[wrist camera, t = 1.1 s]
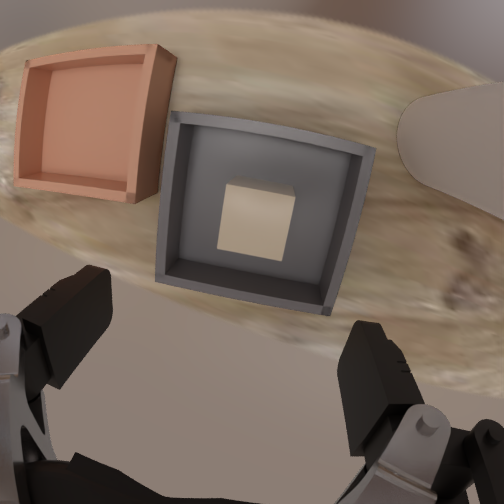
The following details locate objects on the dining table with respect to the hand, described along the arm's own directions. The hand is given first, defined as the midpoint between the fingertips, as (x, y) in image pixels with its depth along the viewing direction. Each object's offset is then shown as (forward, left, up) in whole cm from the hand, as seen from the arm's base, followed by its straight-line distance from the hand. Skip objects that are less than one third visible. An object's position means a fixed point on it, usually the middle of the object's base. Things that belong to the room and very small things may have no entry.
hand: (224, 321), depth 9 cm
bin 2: (0, 0, -17) cm, 17 cm away
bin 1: (+16, -5, -17) cm, 24 cm away
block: (0, 0, -16) cm, 16 cm away
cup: (-14, -9, -17) cm, 24 cm away
